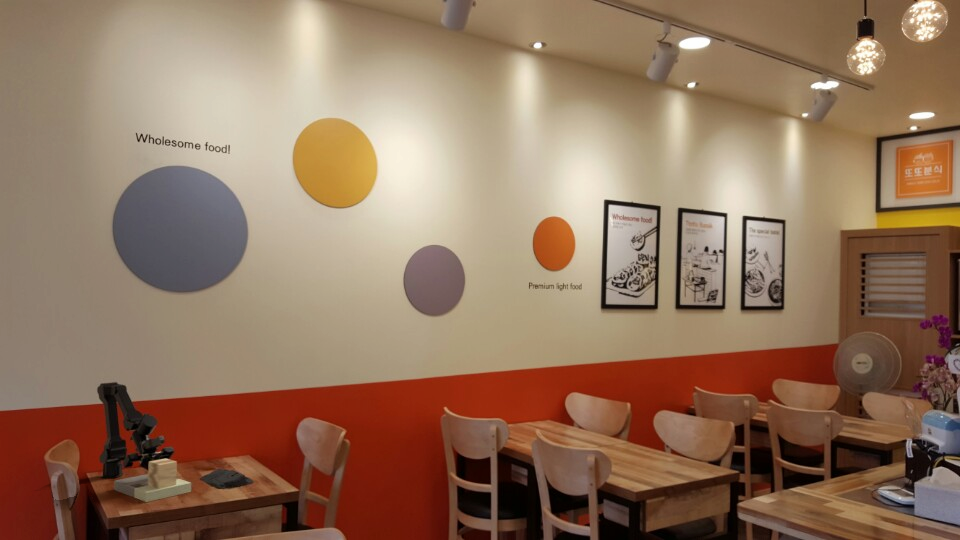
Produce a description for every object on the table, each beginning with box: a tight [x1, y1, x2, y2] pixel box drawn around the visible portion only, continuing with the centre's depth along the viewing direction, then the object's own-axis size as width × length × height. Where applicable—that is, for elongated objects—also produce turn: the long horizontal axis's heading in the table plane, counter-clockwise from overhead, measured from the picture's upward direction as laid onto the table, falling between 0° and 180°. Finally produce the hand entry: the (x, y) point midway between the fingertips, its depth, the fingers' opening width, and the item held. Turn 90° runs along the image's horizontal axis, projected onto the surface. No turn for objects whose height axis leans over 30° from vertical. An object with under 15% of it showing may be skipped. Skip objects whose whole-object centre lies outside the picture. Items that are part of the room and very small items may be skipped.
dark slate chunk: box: [199, 468, 254, 490], centre depth 296 cm, size 15×22×5 cm
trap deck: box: [113, 473, 192, 503], centre depth 280 cm, size 25×18×4 cm
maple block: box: [147, 458, 178, 489], centre depth 276 cm, size 8×7×9 cm
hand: (156, 474), depth 279 cm, fingers closed, pressing on maple block
